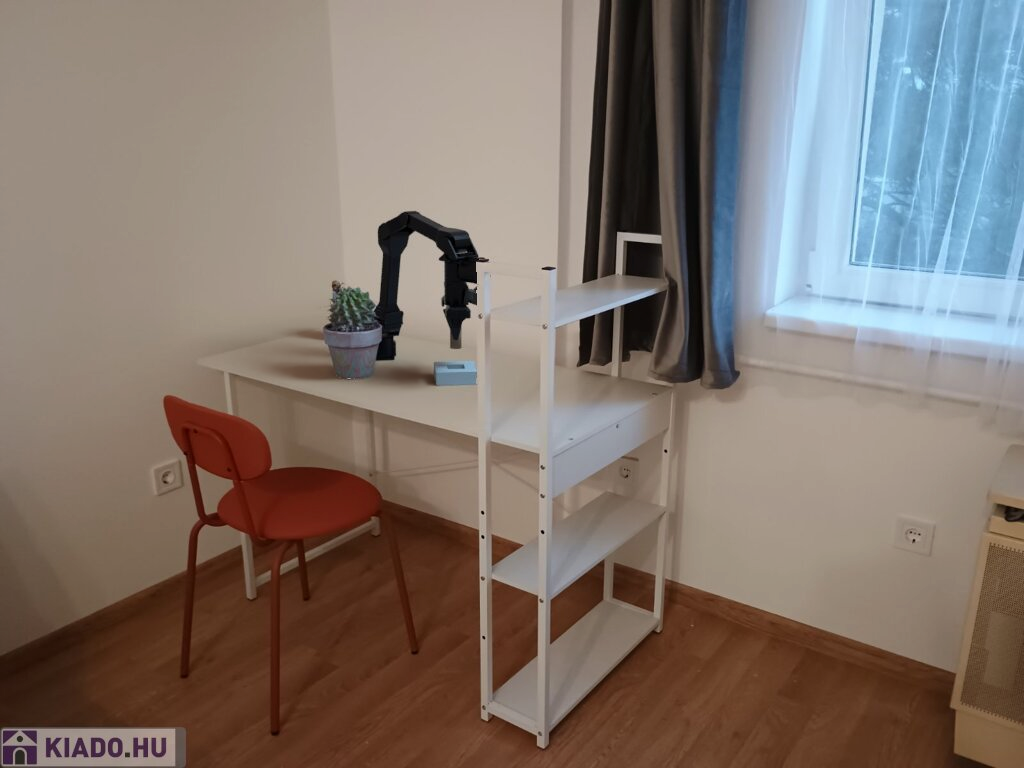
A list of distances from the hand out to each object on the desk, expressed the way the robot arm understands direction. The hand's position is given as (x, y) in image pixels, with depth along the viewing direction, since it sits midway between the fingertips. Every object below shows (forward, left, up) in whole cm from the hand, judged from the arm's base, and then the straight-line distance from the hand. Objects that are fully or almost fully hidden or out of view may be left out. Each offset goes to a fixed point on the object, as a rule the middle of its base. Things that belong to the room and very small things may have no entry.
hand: (455, 338), depth 234 cm
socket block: (0, 0, -11) cm, 11 cm away
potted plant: (-26, +7, -11) cm, 29 cm away
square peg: (0, 0, -3) cm, 3 cm away
